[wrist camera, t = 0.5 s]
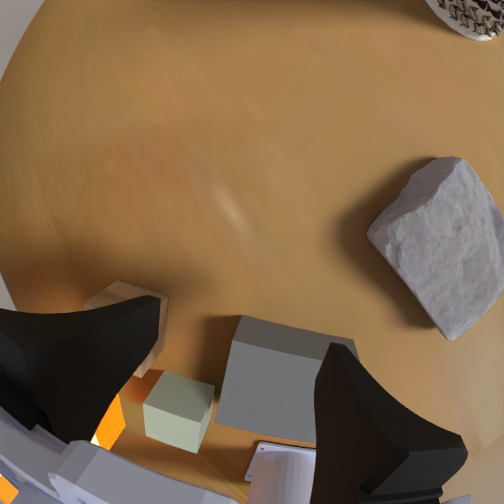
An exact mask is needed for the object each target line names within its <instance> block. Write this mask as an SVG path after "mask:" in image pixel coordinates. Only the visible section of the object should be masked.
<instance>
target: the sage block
mask: <svg viewBox="0 0 504 504" xmlns="http://www.w3.org/2000/svg"><path fill="white" fill-rule="evenodd" d="M215 387H216V386H214V385H211V384H207V383H204V382H200V381H197V380H194V379H190V378H187V377H184V376H181V375H178V374H175V373H172V372H169V371H166V370H165V371H164V372H163V374H162V375H161V377H160V378H159V380H158V381H157V383H156V384H155V386H154V387H153V389H152V390H151V392H150V393H149V395H148V396H147V398H146V399H145V401H144V402H143V410H144V421H145V431H146V436H148V437H150V438H153V439H156V440H158V441H161V442H164V443H166V444H169V445H172V446H175V447H178V448H181V449H184V450H187V451H190V452H193V453H197V452H198V449H199V447H200V444H201V442H202V439H203V436H204V434H205V431H206V428H207V426H208V423H209V420H210V417H211V411H212V405H213V399H214V393H215Z"/></svg>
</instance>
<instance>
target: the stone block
mask: <svg viewBox="0 0 504 504" xmlns="http://www.w3.org/2000/svg"><path fill="white" fill-rule="evenodd" d="M367 237H368V240H369V241H370V242H371V243H372V244H373V245H374V247H375V248H376V249H377V250H378V251H379V253H380V254H381V255H382V256H383V257H384V258H385V260H386V261H387V262H388V263H389V264H390V266H391V267H392V268H393V270H394V271H395V272H396V273H397V275H398V276H399V277H400V278H401V280H402V281H403V282H404V283H405V285H406V286H407V287H408V288H409V290H410V291H411V292H412V294H413V295H414V296H415V298H416V299H417V300H418V302H419V303H420V304H421V306H422V307H423V309H424V310H425V311H426V313H427V314H428V316H429V317H430V319H431V320H432V321H433V323H434V324H435V326H436V327H437V328H438V330H439V331H440V333H441V334H442V335H443V336H444V337H445V338H446V339H447V340H448V341H452V340H454V339H456V338H457V337H458V336H460V335H462V334H463V333H465V332H466V330H467V329H469V328H470V327H471V326H472V325H473V324H474V323H475V322H476V321H477V320H478V319H479V318H480V317H481V316H482V315H483V314H484V313H485V312H486V311H487V310H488V309H489V308H490V307H491V306H492V305H493V304H494V302H495V301H496V300H497V299H498V298H499V297H500V295H501V293H502V292H503V290H504V218H503V216H502V214H501V212H500V210H499V209H498V207H497V205H496V203H494V201H493V198H492V196H491V194H490V191H489V190H488V189H487V187H486V186H485V184H484V183H483V182H482V181H480V180H479V176H478V175H477V174H476V173H475V172H474V170H473V169H472V168H471V167H470V165H469V164H468V163H467V162H466V161H465V160H464V159H461V158H457V157H452V156H451V157H442V158H438V159H434V160H433V161H431V162H429V163H428V164H427V165H426V166H424V167H423V168H421V169H419V170H417V171H416V172H415V173H414V174H412V176H411V178H410V179H409V181H408V182H407V184H406V185H405V187H404V188H402V190H401V192H400V195H399V197H398V198H397V199H396V200H395V201H394V202H393V203H391V204H390V205H389V206H388V207H387V208H385V209H384V210H383V212H382V213H381V214H380V215H379V216H378V217H377V218H376V219H375V221H374V222H373V223H372V224H371V225H370V227H369V229H368V231H367Z"/></svg>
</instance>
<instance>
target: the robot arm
mask: <svg viewBox="0 0 504 504" xmlns="http://www.w3.org/2000/svg"><path fill="white" fill-rule="evenodd" d="M160 305H161V298H158V297H155V296H152V295H143V296H139V297H136V298H132V299H129V300H125V301H122V302H118V303H115V304H111V305H107V306H103V307H99V308H95V309H90V310H85V311H79V312H71V313H54V314H38V313H25V312H18V311H11V310H6V309H1V308H0V474H1V475H2V476H3V477H4V478H5V479H6V480H7V481H8V482H9V483H10V484H11V485H12V486H13V487H14V488H16V489H17V490H18V491H19V492H18V494H17V495H16V496H15V497H14V499H13V500H12V501H11V503H10V504H241V503H239V502H238V501H236V500H235V499H233V498H232V497H230V496H228V495H225V494H222V493H219V492H216V491H213V490H211V489H208V488H205V487H201V486H198V485H195V484H191V483H188V482H185V481H182V480H179V479H176V478H173V477H170V476H167V475H165V474H162V473H159V472H157V471H154V470H152V469H149V468H147V467H144V466H142V465H139V464H137V463H135V462H133V461H130V460H128V459H126V458H124V457H122V456H119V455H117V454H115V453H113V452H111V451H109V450H107V449H105V448H103V447H101V446H98V445H96V444H93V443H91V441H92V439H93V437H94V435H95V432H96V430H97V428H98V426H99V425H100V423H101V421H102V419H103V417H104V415H105V414H106V412H107V410H108V408H109V407H110V405H111V403H112V402H113V400H114V398H115V397H116V395H117V394H118V392H119V391H120V390H121V388H122V387H123V386H124V384H125V383H126V382H127V381H128V380H129V378H130V377H131V376H132V375H133V373H134V372H135V371H136V370H137V369H138V367H139V366H140V365H141V364H142V362H143V361H144V360H145V359H146V357H147V356H148V355H149V353H150V352H151V350H152V348H153V347H154V345H155V343H156V341H157V340H158V337H159V320H160ZM314 413H315V428H316V449H307V448H300V447H292V446H286V445H280V444H274V443H268V442H259V444H258V446H257V449H256V451H255V454H254V456H253V459H252V461H251V463H250V466H249V468H248V470H247V473H246V475H245V478H244V479H245V480H246V481H250V482H251V486H250V491H249V496H248V501H247V504H440V503H439V499H438V497H441V496H442V494H443V491H442V487H441V486H442V485H443V484H445V483H446V482H447V481H448V480H449V479H450V478H451V477H452V476H453V475H454V474H456V472H458V471H459V469H460V468H461V467H462V466H463V465H464V463H465V461H466V459H467V457H468V452H467V449H466V447H465V444H464V442H463V440H462V438H461V436H460V435H458V434H455V433H453V432H450V431H448V430H445V429H443V428H441V427H438V426H436V425H434V424H432V423H431V422H429V421H427V420H425V419H423V418H422V417H420V416H418V415H417V414H415V413H414V412H412V411H411V410H409V409H408V408H406V407H405V406H404V405H402V404H401V403H400V402H398V401H397V400H396V399H395V398H394V397H392V396H391V395H390V394H389V393H388V392H387V391H386V390H385V389H384V388H383V387H382V386H381V385H380V384H379V383H378V382H377V381H376V380H375V379H374V378H373V377H372V376H371V375H370V374H369V373H368V371H367V370H366V369H365V368H364V367H363V366H362V364H361V363H360V362H359V361H358V360H357V358H356V357H355V356H354V355H353V354H352V352H351V351H350V350H349V349H348V348H347V347H346V346H345V345H344V344H339V343H334V342H330V345H329V347H328V350H327V352H326V355H325V357H324V360H323V362H322V364H321V367H320V369H319V371H318V374H317V376H316V378H315V387H314ZM441 504H473V502H472V499H471V496H470V495H465V496H462V497H458V498H454V499H450V500H447V501H445V502H443V503H441Z"/></svg>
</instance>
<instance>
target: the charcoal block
mask: <svg viewBox="0 0 504 504" xmlns="http://www.w3.org/2000/svg"><path fill="white" fill-rule="evenodd" d="M330 342H334V343H339V344H344V345H345V346H346V347H347V348H348V349H349V350H350V351H351V352H352V354H353V355H354V356H355V357H356V358H357V360H358V361H359V362H360V360H359V357H358V354H357V350H356V347H355V343H354V340H352V339H347V338H342V337H337V336H332V335H327V334H322V333H317V332H313V331H308V330H304V329H299V328H295V327H290V326H286V325H282V324H278V323H273V322H269V321H265V320H261V319H257V318H253V317H249V316H245V315H242V317H241V320H240V322H239V325H238V327H237V330H236V332H235V335H234V338H233V340H232V345H231V349H230V354H229V359H228V363H227V368H226V372H225V377H224V382H223V386H222V391H221V396H220V400H219V405H218V410H217V414H216V419H215V423H218V424H222V425H225V426H229V427H233V428H237V429H241V430H245V431H250V432H254V433H259V434H263V435H268V436H274V437H279V438H285V439H291V440H297V441H304V442H311V443H316V428H315V413H314V387H315V378H316V376H317V374H318V371H319V369H320V367H321V364H322V362H323V360H324V357H325V355H326V352H327V350H328V347H329V345H330Z"/></svg>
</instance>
